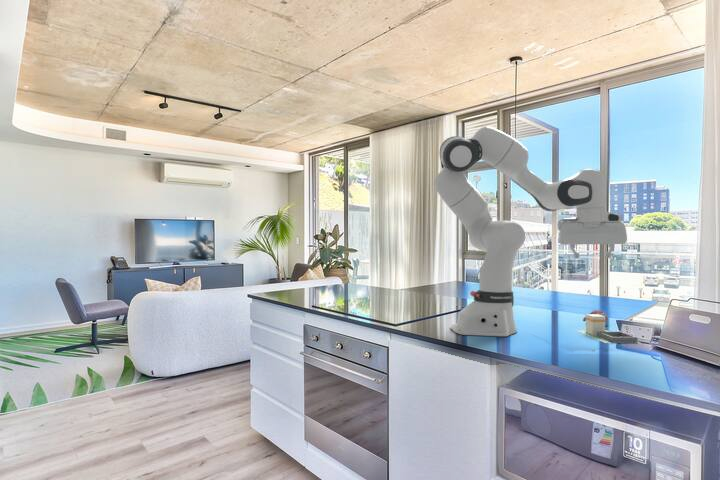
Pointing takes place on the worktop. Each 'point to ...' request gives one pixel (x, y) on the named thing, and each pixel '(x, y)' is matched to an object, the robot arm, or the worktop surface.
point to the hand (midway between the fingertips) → (591, 257)
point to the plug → (595, 323)
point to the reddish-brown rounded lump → (597, 313)
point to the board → (612, 337)
